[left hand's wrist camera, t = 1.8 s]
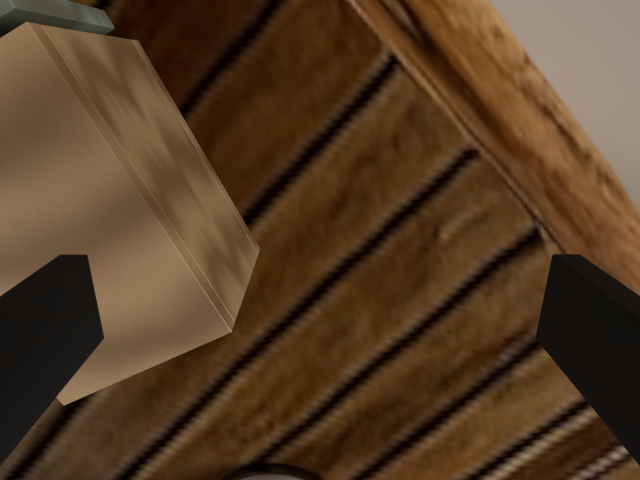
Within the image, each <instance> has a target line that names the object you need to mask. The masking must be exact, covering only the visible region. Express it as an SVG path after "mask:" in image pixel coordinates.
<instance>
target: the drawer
mask: <svg viewBox="0 0 640 480" xmlns="http://www.w3.org/2000/svg"><path fill="white" fill-rule="evenodd" d="M25 22H31V23H37V24H41V25H47V26H53V27H59V28H65V29H71V30H77V31H83V32H89V33H95V34H101V35H105V34H107V33H108V32H110V31H112V30H113V29H114V26H113V24H112V23H111V21H110V19H109V18H108V16H107V14H106V13H105V11H104V10H100V9H97V8H93V7H90V6H86V5H83V4H79V3H75V2H72V1H68V0H0V38H1V37H3V36H4V35H6V34H7V33H9V32H11V31H12V30H14V29H15V28H17V27H18V26H20V25H22V24H23V23H25Z"/></svg>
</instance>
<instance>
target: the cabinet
mask: <svg viewBox="0 0 640 480" xmlns="http://www.w3.org/2000/svg"><path fill="white" fill-rule="evenodd" d="M259 251H260V248H259V246H258V244H257V243H256V241H255V239H254V238H253V236H252V234H251V233H250V231H249V229H248V227H247V226H246V224H245V222H244V221H243V219H242V217H241V215H240V214H239V212H238V210H237V209H236V207H235V205H234V204H233V202H232V200H231V198H230V197H229V195H228V193H227V192H226V190H225V188H224V187H223V185H222V183H221V181H220V180H219V178H218V176H217V175H216V173H215V171H214V169H213V168H212V166H211V164H210V163H209V161H208V159H207V158H206V156H205V154H204V152H203V151H202V149H201V147H200V146H199V144H198V142H197V141H196V139H195V137H194V135H193V134H192V132H191V130H190V129H189V127H188V125H187V123H186V122H185V120H184V118H183V117H182V115H181V113H180V112H179V110H178V108H177V106H176V105H175V103H174V101H173V100H172V98H171V96H170V94H169V93H168V91H167V89H166V88H165V86H164V84H163V83H162V81H161V79H160V77H159V76H158V74H157V72H156V71H155V69H154V67H153V66H152V64H151V62H150V60H149V59H148V57H147V55H146V54H145V52H144V50H143V48H142V47H141V45H140V43H139V42H138V40H131V39H125V38H119V37H113V36H107V35H101V34H95V33H89V32H83V31H77V30H71V29H65V28H59V27H53V26H47V25H41V24H37V23H31V22H25V23H23V24H22V25H20V26H18V27H17V28H15V29H14V30H12V31H11V32H9V33H7V34H6V35H4V36H3V37H1V38H0V296H1V295H3V294H4V293H5V292H7V291H8V290H10V289H11V288H13V287H14V286H16V285H17V284H18V283H20V282H21V281H23V280H24V279H26V278H27V277H28V276H30V275H31V274H33V273H34V272H36V271H37V270H39V269H40V268H41V267H43V266H44V265H46V264H47V263H49V262H50V261H51V260H53V259H54V258H56V257H57V256H59V255H60V254H87V255H88V260H89V265H90V270H91V275H92V280H93V285H94V289H95V294H96V299H97V304H98V309H99V314H100V319H101V324H102V328H103V333H104V339H103V340H102V342H101V343H100V344H99V345H98V347H97V348H96V349H95V350H94V351H93V353H92V354H91V355H90V356H89V358H88V359H87V360H86V361H85V363H84V364H83V365H82V366H81V367H80V369H79V370H78V371H77V372H76V374H75V375H74V376H73V377H72V378H71V380H70V381H69V382H68V383H67V385H66V386H65V387H64V388H63V389H62V391H61V392H60V393H59V394H58V396H57V399H58V400H59V401H60V402H61V403H62V404H63V405H66V404H68V403H71V402H73V401H75V400H78V399H80V398H82V397H84V396H87V395H89V394H91V393H94V392H96V391H98V390H100V389H103V388H105V387H107V386H110V385H112V384H114V383H116V382H119V381H121V380H123V379H126V378H128V377H130V376H132V375H135V374H137V373H139V372H142V371H144V370H146V369H148V368H151V367H153V366H155V365H158V364H160V363H162V362H164V361H167V360H169V359H171V358H174V357H176V356H178V355H180V354H183V353H185V352H187V351H190V350H192V349H194V348H196V347H199V346H201V345H203V344H206V343H208V342H210V341H212V340H215V339H217V338H219V337H222V336H224V335H226V334H228V333H231V332H232V329H233V326H234V323H235V320H236V317H237V314H238V311H239V308H240V306H241V303H242V300H243V297H244V294H245V291H246V288H247V285H248V283H249V280H250V277H251V274H252V271H253V268H254V265H255V262H256V260H257V257H258V254H259Z"/></svg>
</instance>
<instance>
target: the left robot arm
mask: <svg viewBox="0 0 640 480" xmlns="http://www.w3.org/2000/svg"><path fill="white" fill-rule="evenodd" d="M103 339H104V333H103V328H102V324H101V319H100V314H99V309H98V304H97V299H96V294H95V289H94V285H93V280H92V275H91V270H90V265H89V260H88V255H87V254H60V255H59V256H57V257H56V258H54V259H53V260H51V261H50V262H49V263H47V264H46V265H44V266H43V267H41V268H40V269H39V270H37V271H36V272H34V273H33V274H31V275H30V276H28V277H27V278H26V279H24V280H23V281H21V282H20V283H18V284H17V285H16V286H14V287H13V288H11V289H10V290H8V291H7V292H5V293H4V294H3V295H1V296H0V465H1V464H2V463H3V462H4V461H5V459H6V458H7V457H8V456H9V454H10V453H11V452H12V451H13V450H14V448H15V447H16V446H17V445H18V443H19V442H20V441H21V440H22V438H23V437H24V436H25V435H26V434H27V432H28V431H29V430H30V429H31V427H32V426H33V425H34V424H35V423H36V421H37V420H38V419H39V418H40V416H41V415H42V414H43V413H44V412H45V410H46V409H47V408H48V407H49V405H50V404H51V403H52V402H53V400H54V399H55V398H56V397H57V396H58V394H59V393H60V392H61V391H62V389H63V388H64V387H65V386H66V385H67V383H68V382H69V381H70V380H71V378H72V377H73V376H74V375H75V374H76V372H77V371H78V370H79V369H80V367H81V366H82V365H83V364H84V363H85V361H86V360H87V359H88V358H89V356H90V355H91V354H92V353H93V351H94V350H95V349H96V348H97V347H98V345H99V344H100V343H101V342H102V340H103ZM536 339H537V340H538V342H539V343H540V344H541V345H542V347H543V348H544V349H545V350H546V351H547V353H548V354H549V355H550V356H551V358H552V359H553V360H554V361H555V363H556V364H557V365H558V366H559V367H560V369H561V370H562V371H563V372H564V374H565V375H566V376H567V377H568V378H569V380H570V381H571V382H572V383H573V385H574V386H575V387H576V388H577V389H578V391H579V392H580V393H581V394H582V396H583V397H584V398H585V399H586V400H587V402H588V403H589V404H590V405H591V407H592V408H593V409H594V410H595V412H596V413H597V414H598V415H599V416H600V418H601V419H602V420H603V421H604V423H605V424H606V425H607V426H608V427H609V429H610V430H611V431H612V432H613V434H614V435H615V436H616V437H617V438H618V440H619V441H620V442H621V443H622V445H623V446H624V447H625V448H626V450H627V451H628V452H629V453H630V454H631V456H632V457H633V458H634V459H635V461H636V462H637V463H638V464H639V465H640V296H639V295H637V294H636V293H635V292H633V291H632V290H630V289H629V288H627V287H626V286H624V285H623V284H622V283H620V282H619V281H617V280H616V279H614V278H613V277H612V276H610V275H609V274H607V273H606V272H604V271H603V270H601V269H600V268H599V267H597V266H596V265H594V264H593V263H591V262H590V261H589V260H587V259H586V258H584V257H583V256H581V255H580V254H553V255H552V260H551V265H550V270H549V275H548V280H547V285H546V289H545V294H544V299H543V304H542V309H541V314H540V319H539V324H538V328H537V333H536ZM223 480H323V479H322V478H320V477H318V476H316V475H314V474H312V473H310V472H307V471H305V470H301V469H298V468H294V467H288V466H279V465H265V466H257V467H251V468H247V469H244V470H241V471H238V472H236V473H233V474H231V475H230V476H228V477H226V478H225V479H223Z"/></svg>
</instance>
